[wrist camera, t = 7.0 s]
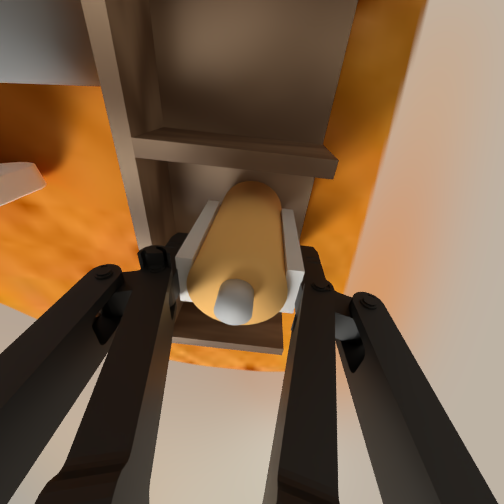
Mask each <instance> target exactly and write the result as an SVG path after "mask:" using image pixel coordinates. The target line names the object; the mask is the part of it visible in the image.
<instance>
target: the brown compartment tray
mask: <svg viewBox="0 0 504 504" xmlns="http://www.w3.org/2000/svg"><path fill="white" fill-rule="evenodd" d="M357 3H358V0H81V4H82V8H83V12H84V17H85V21H86V25H87V29H88V34H89V38H90V42H91V46H92V51H93V55H94V59H95V64H96V68H97V72H98V76H99V81H100V85H101V89H102V94H103V98H104V102H105V106H106V111H107V115H108V119H109V123H110V128H111V132H112V136H113V141H114V145H115V149H116V153H117V158H118V162H119V166H120V170H121V175H122V179H123V183H124V188H125V192H126V196H127V200H128V205H129V209H130V213H131V217H132V222H133V226H134V230H135V235H136V239H137V243H138V247H139V251H140V250H141V249H143V248H144V247H147V246H150V245H162V246H165V245H166V244H167V243H168V241H169V240H170V238H171V237H172V236H173V235H175V234H177V233H178V232H180V233H190V231H191V229H192V227H193V226H194V224H195V222H196V221H197V219H198V217H199V216H200V214H201V212H202V210H203V209H204V207H205V205H206V204H207V202H208V200H211V201H220V206H221V204H222V201H223V199H224V197H225V195H226V194H227V192H228V191H229V190H230V189H231V188H232V187H233V186H235V185H236V184H238V183H241V182H245V181H257V182H261V183H264V184H266V185H267V186H269V187H270V188H272V189H273V190H274V191H275V193H276V194H277V195H278V197H279V199H280V202H281V209H291V210H293V213H294V218H295V223H296V228H297V233H298V239H300V235H301V231H302V227H303V223H304V219H305V215H306V211H307V207H308V203H309V198H310V194H311V190H312V186H313V182H314V178H315V177H316V178H325V179H333V178H334V175H335V171H336V168H337V165H338V161H339V160H338V159H337V158H336V157H335V156H334V155H333V154H332V153H331V152H330V151H329V150H328V149H327V148H326V147H325V146H324V145H323V141H324V137H325V133H326V129H327V125H328V121H329V117H330V113H331V109H332V105H333V101H334V96H335V92H336V88H337V84H338V80H339V76H340V72H341V68H342V64H343V60H344V56H345V52H346V48H347V43H348V39H349V35H350V31H351V27H352V23H353V19H354V15H355V11H356V7H357ZM176 302H177V311H176V317H175V324H174V330H173V337H172V343H179V344H188V345H197V346H206V347H215V348H224V349H233V350H241V351H250V352H259V353H268V354H277V355H282V352H283V331H282V312H278V313H277V314H276V315H275V316H273V317H272V318H270V319H268V320H266V321H263V322H260V323H256V324H250V325H229V324H225V323H223V322H221V321H218V320H216V319H213V318H211V317H210V316H208V315H206V314H205V313H203V312H202V311H201V310H200V309H198V307H197V306H196V305H195V304H194V303H193V302H188V301H180V293H179V295H178V298H177V300H176Z"/></svg>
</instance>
